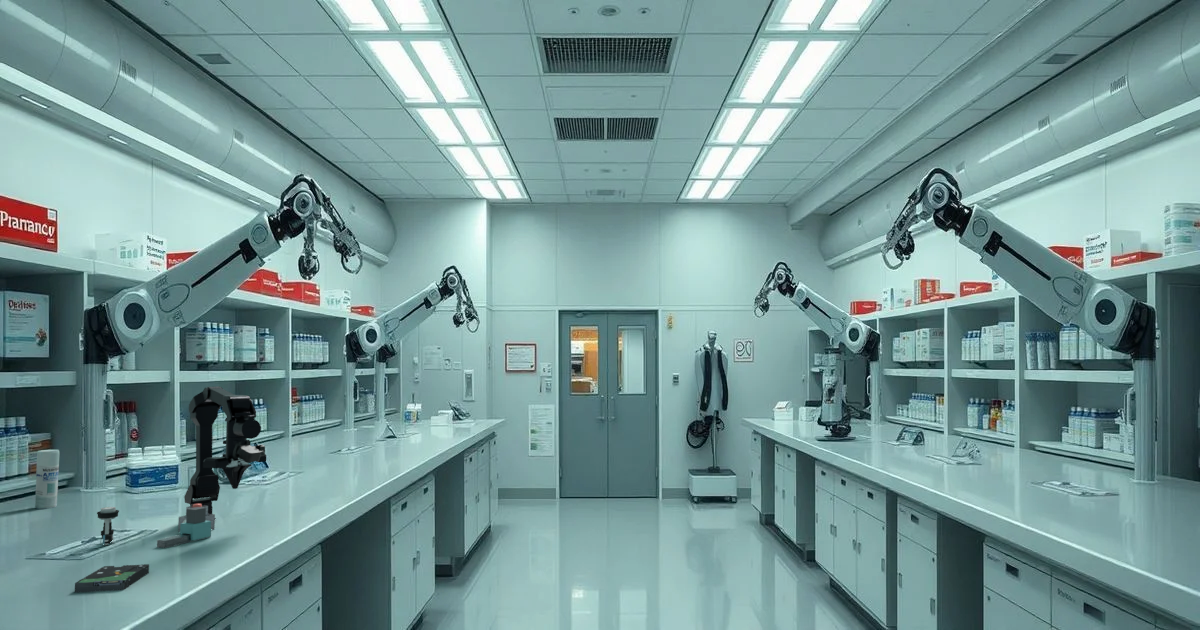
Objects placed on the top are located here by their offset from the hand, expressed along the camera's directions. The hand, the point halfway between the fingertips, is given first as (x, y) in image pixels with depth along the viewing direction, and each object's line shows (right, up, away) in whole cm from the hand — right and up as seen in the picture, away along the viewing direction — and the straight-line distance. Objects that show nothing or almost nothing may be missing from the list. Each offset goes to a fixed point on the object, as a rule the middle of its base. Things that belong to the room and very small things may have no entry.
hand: (235, 488), depth 231 cm
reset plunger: (-13, -8, +2) cm, 15 cm away
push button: (-29, -12, -16) cm, 35 cm away
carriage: (-7, -12, -10) cm, 17 cm away
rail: (-8, -12, -13) cm, 20 cm away
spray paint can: (-87, -16, +40) cm, 97 cm away
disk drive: (-3, -11, -53) cm, 54 cm away
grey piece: (-13, -13, +2) cm, 19 cm away
